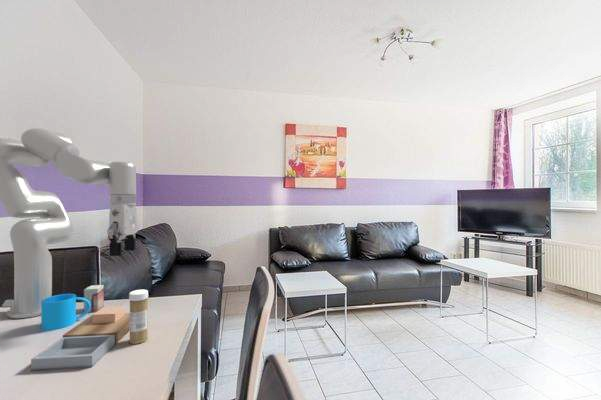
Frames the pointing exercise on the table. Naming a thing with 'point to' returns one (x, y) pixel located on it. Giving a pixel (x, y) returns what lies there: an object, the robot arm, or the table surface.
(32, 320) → the table surface
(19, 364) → the table surface
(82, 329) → the board
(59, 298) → the mug
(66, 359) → the tray
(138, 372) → the table surface
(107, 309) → the tile
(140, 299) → the sprinkles bottle
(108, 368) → the table surface
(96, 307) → the small box
